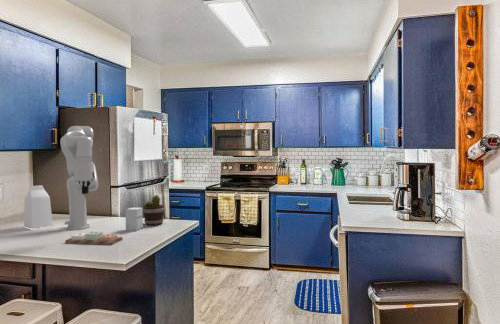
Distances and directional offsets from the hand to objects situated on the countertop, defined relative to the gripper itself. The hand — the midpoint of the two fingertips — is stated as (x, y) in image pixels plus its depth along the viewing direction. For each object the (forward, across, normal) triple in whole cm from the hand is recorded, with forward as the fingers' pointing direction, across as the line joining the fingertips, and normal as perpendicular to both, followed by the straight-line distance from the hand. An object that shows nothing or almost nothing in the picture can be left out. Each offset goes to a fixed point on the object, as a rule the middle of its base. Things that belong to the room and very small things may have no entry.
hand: (85, 193), depth 193 cm
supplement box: (+24, +18, +20) cm, 36 cm away
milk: (+27, -46, +18) cm, 56 cm away
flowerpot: (+25, +22, +36) cm, 49 cm away
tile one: (+23, +3, -9) cm, 25 cm away
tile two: (+22, +11, -9) cm, 26 cm away
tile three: (+23, +19, -9) cm, 31 cm away
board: (+23, +11, -9) cm, 27 cm away
